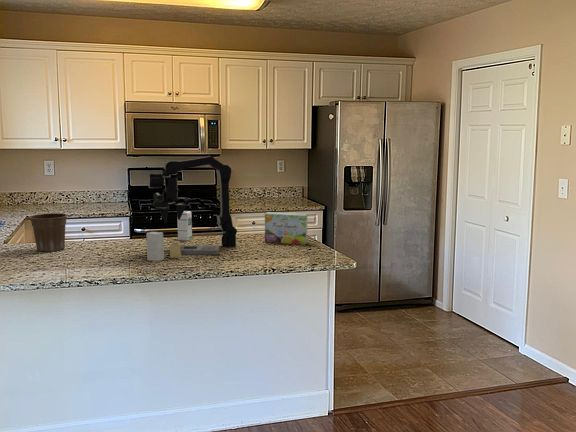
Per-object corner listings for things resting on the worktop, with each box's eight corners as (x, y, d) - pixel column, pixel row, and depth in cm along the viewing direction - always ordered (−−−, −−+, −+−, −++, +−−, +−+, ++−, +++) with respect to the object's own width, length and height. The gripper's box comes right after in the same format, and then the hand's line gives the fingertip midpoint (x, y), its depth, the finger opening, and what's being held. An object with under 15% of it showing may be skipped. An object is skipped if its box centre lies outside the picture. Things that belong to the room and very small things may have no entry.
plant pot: (38, 254, 255) (36, 219, 253) (26, 249, 267) (24, 215, 265) (74, 250, 266) (72, 216, 263) (61, 244, 278) (60, 212, 275)
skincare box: (164, 259, 249) (163, 232, 247) (159, 261, 245) (158, 234, 243) (152, 258, 251) (151, 231, 249) (146, 260, 247) (145, 233, 245)
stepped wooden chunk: (182, 255, 256) (181, 240, 255) (180, 258, 252) (180, 242, 251) (172, 255, 256) (171, 240, 255) (170, 258, 251) (169, 242, 250)
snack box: (264, 242, 288) (264, 213, 285) (267, 240, 293) (267, 211, 291) (305, 244, 283) (305, 214, 281) (307, 242, 289) (307, 213, 286)
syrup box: (188, 240, 291) (187, 212, 289) (177, 240, 292) (176, 212, 290) (192, 238, 296) (192, 211, 294) (181, 238, 298) (181, 210, 295)
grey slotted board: (219, 249, 270) (219, 245, 269) (217, 254, 259) (217, 250, 259) (173, 249, 269) (172, 245, 269) (169, 254, 258) (168, 250, 258)
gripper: (172, 185, 277) (173, 216, 280) (144, 188, 262) (145, 221, 264) (189, 186, 272) (190, 218, 274) (162, 189, 256) (162, 224, 258)
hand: (172, 220), depth 268 cm, fingers open, 9 cm apart
